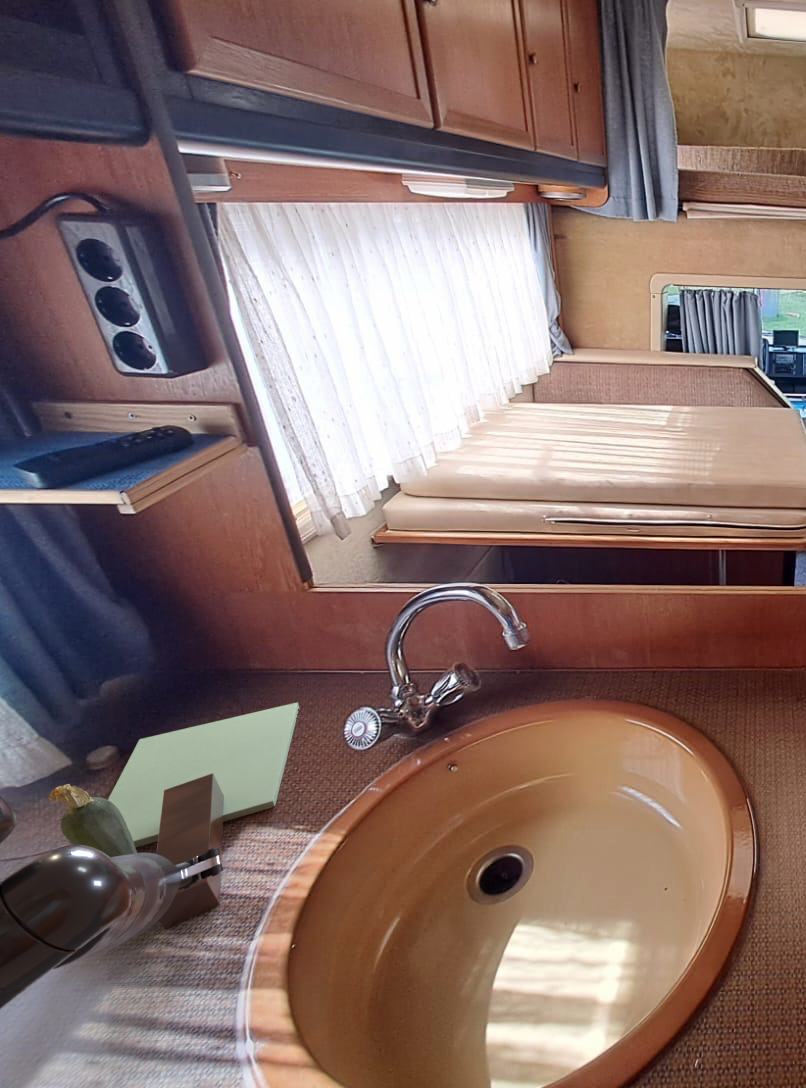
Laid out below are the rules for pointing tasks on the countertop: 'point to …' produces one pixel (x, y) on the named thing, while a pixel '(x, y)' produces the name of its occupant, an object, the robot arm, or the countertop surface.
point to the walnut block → (191, 842)
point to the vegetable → (93, 822)
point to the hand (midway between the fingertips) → (164, 885)
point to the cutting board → (207, 767)
